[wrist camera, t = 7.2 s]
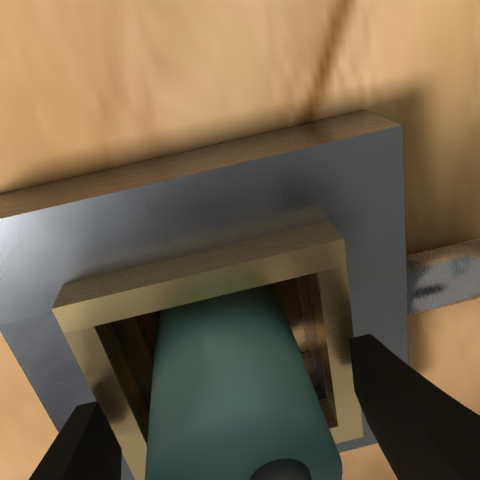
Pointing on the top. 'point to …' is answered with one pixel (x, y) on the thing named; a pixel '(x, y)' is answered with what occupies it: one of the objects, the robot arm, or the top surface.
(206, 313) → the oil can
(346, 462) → the top surface
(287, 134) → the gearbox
